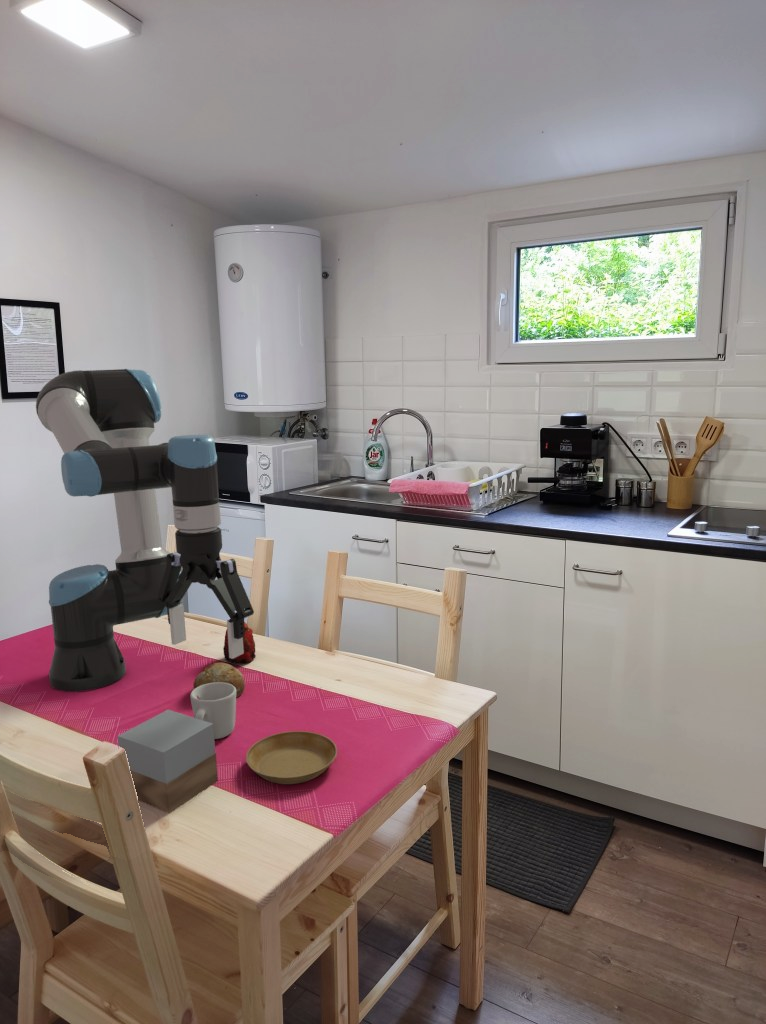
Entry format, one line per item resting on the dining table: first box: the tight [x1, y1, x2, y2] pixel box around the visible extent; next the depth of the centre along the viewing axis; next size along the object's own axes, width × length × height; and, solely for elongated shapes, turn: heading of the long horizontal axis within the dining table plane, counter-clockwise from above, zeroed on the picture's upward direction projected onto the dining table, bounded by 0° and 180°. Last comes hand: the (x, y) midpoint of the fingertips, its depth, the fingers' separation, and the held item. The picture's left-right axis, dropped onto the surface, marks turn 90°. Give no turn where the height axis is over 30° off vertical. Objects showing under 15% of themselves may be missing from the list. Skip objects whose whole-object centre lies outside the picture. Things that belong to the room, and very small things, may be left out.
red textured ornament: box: [223, 621, 256, 664], centre depth 164 cm, size 8×7×15 cm
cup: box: [190, 682, 237, 740], centre depth 130 cm, size 11×8×8 cm
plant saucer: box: [245, 730, 338, 785], centre depth 121 cm, size 15×15×3 cm
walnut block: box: [130, 752, 219, 814], centre depth 115 cm, size 10×10×5 cm
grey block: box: [117, 709, 216, 784], centre depth 114 cm, size 10×10×5 cm
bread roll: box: [192, 662, 246, 698], centre depth 149 cm, size 10×10×8 cm
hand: (207, 649), depth 128 cm, fingers open, 13 cm apart
